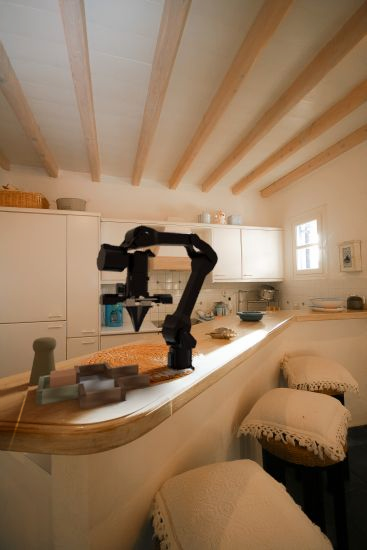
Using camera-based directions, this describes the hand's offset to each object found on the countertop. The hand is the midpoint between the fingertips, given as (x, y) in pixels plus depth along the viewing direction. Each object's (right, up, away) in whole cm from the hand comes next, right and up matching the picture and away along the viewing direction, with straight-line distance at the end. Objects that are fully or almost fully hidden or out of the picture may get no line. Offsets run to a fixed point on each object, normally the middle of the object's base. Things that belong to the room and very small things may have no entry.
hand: (136, 331), depth 65 cm
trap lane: (-8, -11, -8) cm, 16 cm away
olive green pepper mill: (-22, -12, -4) cm, 26 cm away
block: (-14, -11, -11) cm, 21 cm away
